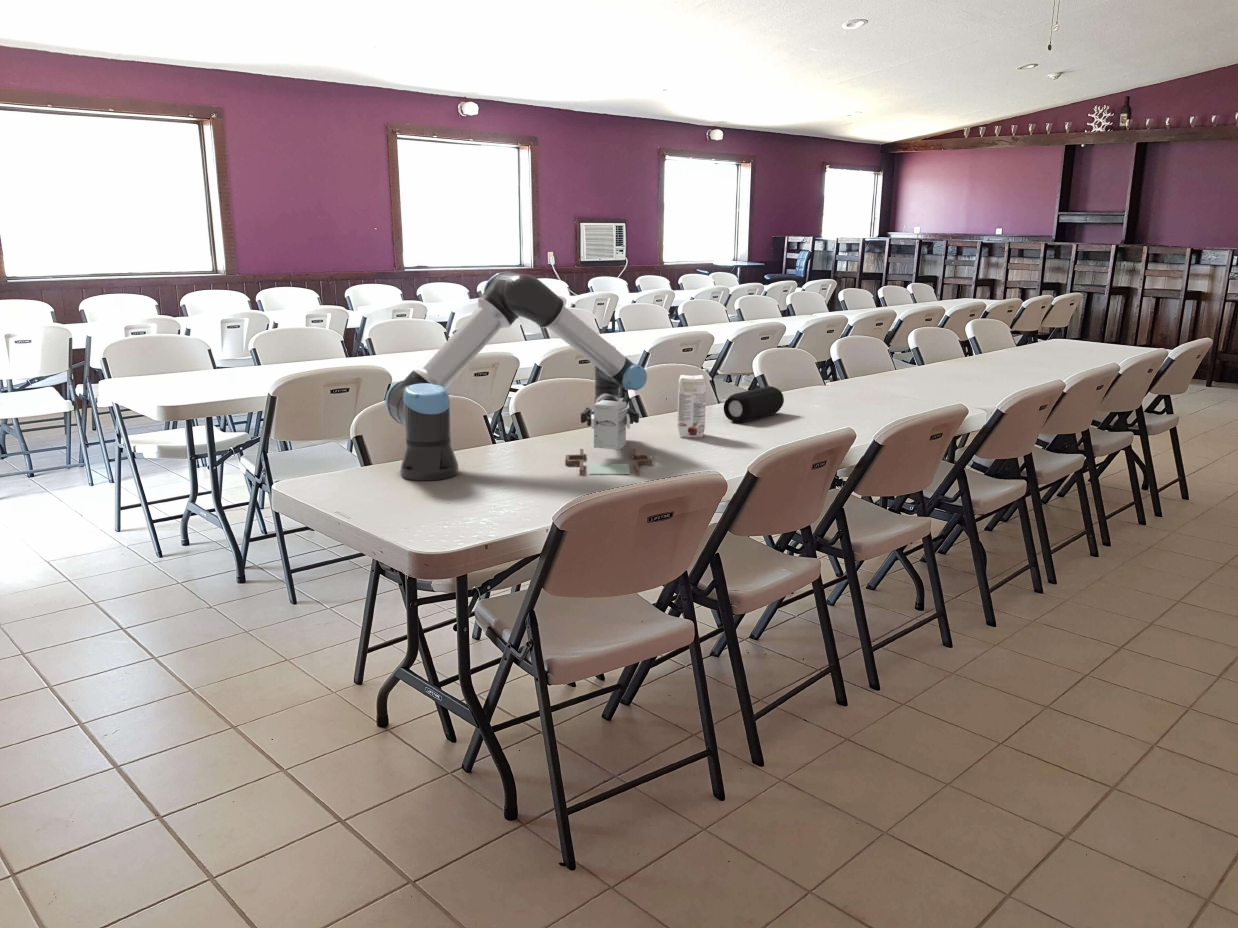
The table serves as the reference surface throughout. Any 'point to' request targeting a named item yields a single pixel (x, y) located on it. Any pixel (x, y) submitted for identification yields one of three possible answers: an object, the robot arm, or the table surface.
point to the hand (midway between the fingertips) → (610, 423)
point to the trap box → (638, 458)
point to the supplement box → (610, 424)
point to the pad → (608, 469)
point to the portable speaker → (753, 404)
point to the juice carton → (691, 406)
